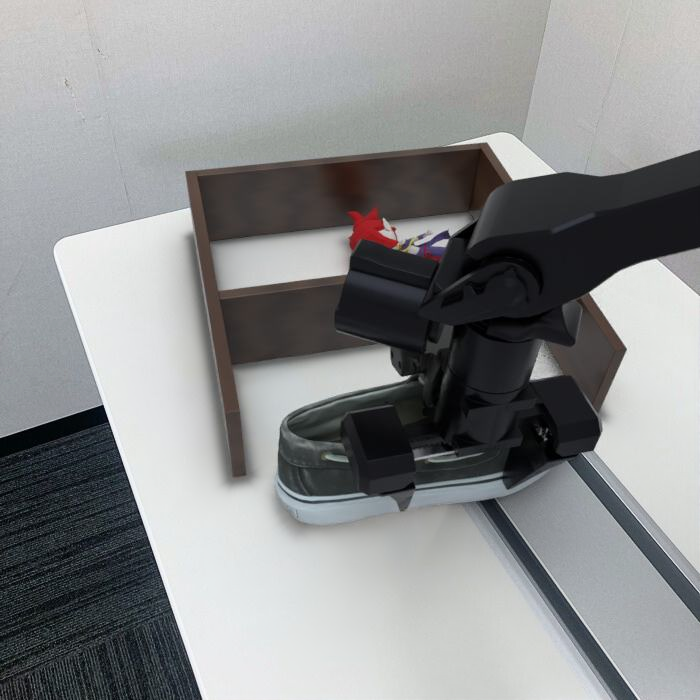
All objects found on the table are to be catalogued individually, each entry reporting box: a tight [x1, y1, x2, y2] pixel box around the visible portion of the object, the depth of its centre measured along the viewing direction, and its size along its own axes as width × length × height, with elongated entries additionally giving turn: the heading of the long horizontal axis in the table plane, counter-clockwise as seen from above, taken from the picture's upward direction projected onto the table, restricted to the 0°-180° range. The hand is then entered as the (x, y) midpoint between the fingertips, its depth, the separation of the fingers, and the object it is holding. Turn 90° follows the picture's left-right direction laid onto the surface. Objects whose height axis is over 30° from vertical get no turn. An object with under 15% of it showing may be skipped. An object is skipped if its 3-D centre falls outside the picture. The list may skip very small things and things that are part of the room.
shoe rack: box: [184, 141, 628, 478], centre depth 78 cm, size 35×35×9 cm
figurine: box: [348, 206, 451, 262], centre depth 85 cm, size 6×8×15 cm
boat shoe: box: [274, 374, 553, 526], centre depth 64 cm, size 10×29×10 cm, turn 112°
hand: (454, 495), depth 62 cm, fingers open, 9 cm apart
